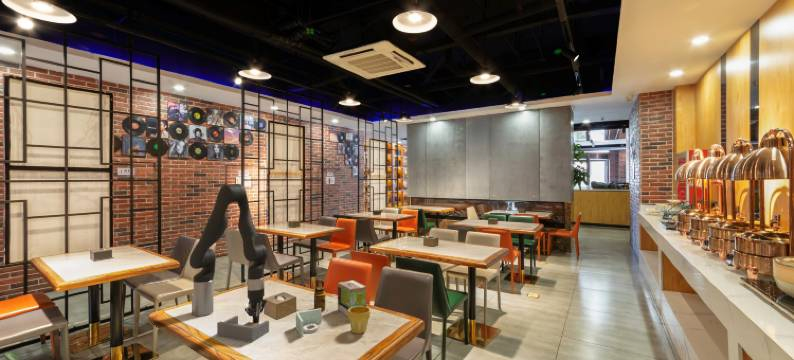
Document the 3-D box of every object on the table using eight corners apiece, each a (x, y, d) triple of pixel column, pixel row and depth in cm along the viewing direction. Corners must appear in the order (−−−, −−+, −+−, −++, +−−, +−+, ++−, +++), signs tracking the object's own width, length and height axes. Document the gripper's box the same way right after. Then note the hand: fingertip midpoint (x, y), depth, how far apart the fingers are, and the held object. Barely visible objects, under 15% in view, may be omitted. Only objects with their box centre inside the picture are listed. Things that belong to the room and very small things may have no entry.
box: (217, 336, 155) (217, 322, 155) (235, 326, 165) (235, 313, 165) (252, 342, 149) (252, 328, 149) (269, 331, 159) (269, 318, 159)
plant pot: (369, 325, 167) (369, 305, 167) (371, 334, 157) (371, 313, 157) (347, 326, 165) (347, 306, 165) (348, 336, 155) (348, 314, 155)
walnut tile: (239, 333, 158) (239, 327, 158) (248, 328, 164) (248, 321, 164) (250, 335, 157) (250, 328, 157) (259, 329, 162) (259, 323, 162)
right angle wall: (301, 338, 154) (301, 321, 154) (295, 328, 165) (296, 312, 165) (327, 333, 159) (327, 316, 159) (320, 323, 170) (320, 308, 170)
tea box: (366, 314, 181) (367, 286, 181) (349, 318, 175) (349, 289, 175) (353, 305, 193) (353, 279, 193) (337, 309, 187) (337, 282, 187)
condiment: (328, 311, 185) (328, 288, 185) (312, 314, 180) (312, 291, 180) (322, 306, 191) (323, 285, 191) (308, 310, 186) (308, 287, 186)
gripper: (258, 282, 172) (258, 317, 172) (239, 290, 159) (239, 328, 159) (271, 283, 170) (271, 319, 170) (253, 292, 157) (253, 330, 157)
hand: (255, 323), depth 165 cm, fingers closed
